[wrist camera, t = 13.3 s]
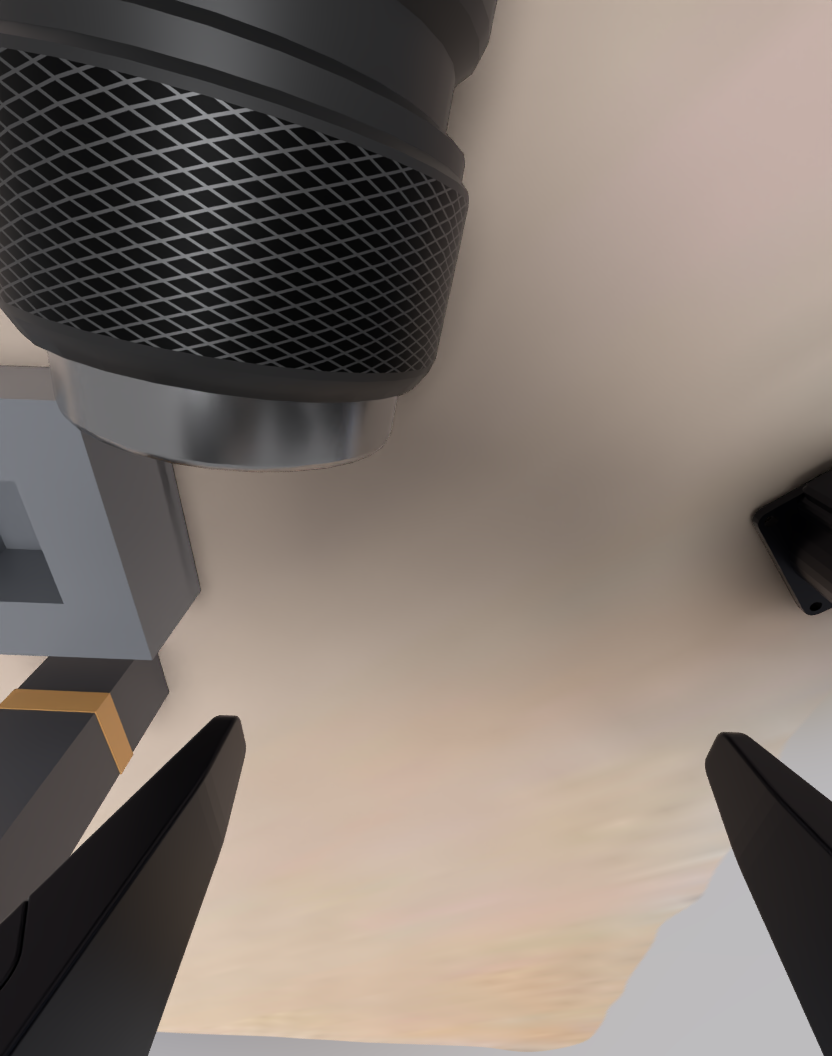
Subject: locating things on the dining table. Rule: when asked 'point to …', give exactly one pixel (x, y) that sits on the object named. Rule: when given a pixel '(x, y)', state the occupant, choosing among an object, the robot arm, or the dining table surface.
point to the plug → (65, 758)
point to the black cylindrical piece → (233, 216)
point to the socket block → (84, 536)
